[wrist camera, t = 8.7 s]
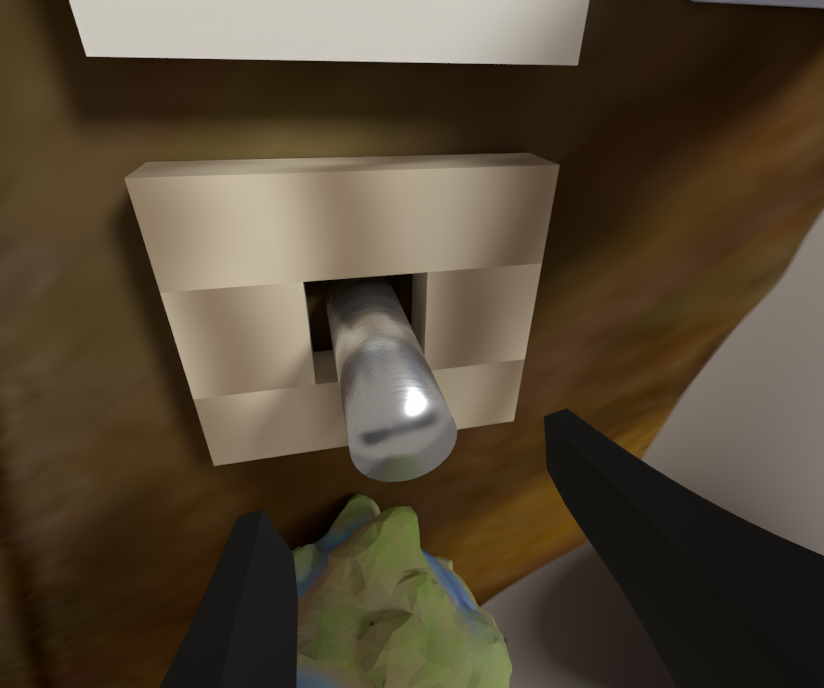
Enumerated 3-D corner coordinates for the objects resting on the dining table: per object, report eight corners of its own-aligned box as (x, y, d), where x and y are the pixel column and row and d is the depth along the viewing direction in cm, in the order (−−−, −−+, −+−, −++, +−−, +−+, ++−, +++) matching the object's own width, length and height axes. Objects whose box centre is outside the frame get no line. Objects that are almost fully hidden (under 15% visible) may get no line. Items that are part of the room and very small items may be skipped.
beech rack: (528, 152, 18) (559, 164, 16) (494, 390, 24) (513, 420, 22) (146, 161, 15) (124, 178, 13) (221, 427, 22) (214, 465, 20)
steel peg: (384, 258, 19) (447, 385, 12) (400, 317, 21) (464, 461, 13) (316, 279, 19) (335, 421, 11) (337, 337, 20) (366, 494, 13)
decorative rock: (205, 1018, 16) (539, 885, 22) (292, 642, 13) (648, 606, 19) (220, 666, 28) (430, 642, 34) (266, 436, 26) (486, 452, 32)
